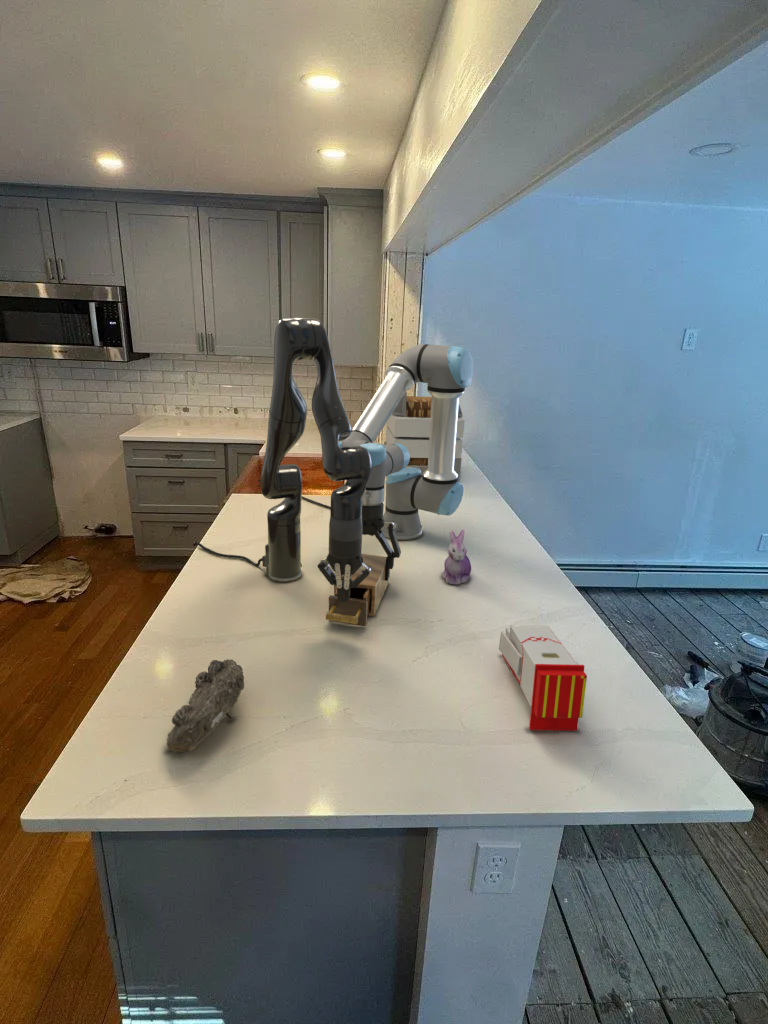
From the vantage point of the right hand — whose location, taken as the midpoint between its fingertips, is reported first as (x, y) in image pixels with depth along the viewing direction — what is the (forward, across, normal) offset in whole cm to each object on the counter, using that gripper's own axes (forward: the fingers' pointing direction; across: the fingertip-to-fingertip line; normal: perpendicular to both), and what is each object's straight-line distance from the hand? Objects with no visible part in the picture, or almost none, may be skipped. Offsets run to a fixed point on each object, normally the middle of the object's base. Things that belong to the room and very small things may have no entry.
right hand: (367, 576), depth 159 cm
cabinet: (+4, 0, -5) cm, 6 cm away
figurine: (+4, +24, +13) cm, 28 cm away
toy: (+4, +44, -34) cm, 56 cm away
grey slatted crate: (+4, -2, +123) cm, 123 cm away
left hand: (-5, 0, -25) cm, 25 cm away
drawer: (+3, 0, -16) cm, 16 cm away
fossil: (+4, -16, -60) cm, 62 cm away
